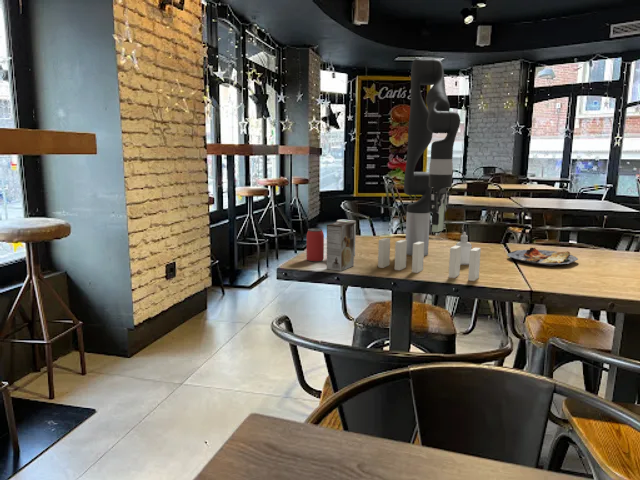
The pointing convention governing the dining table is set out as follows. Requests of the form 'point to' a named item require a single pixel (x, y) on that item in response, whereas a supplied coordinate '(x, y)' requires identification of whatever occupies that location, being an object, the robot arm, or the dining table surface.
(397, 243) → the domino
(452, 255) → the domino
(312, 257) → the beer can
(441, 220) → the sage domino
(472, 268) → the domino
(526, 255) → the food plate
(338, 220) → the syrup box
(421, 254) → the domino
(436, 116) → the robot arm
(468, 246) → the eye dropper bottle
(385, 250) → the domino
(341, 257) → the coffee box
